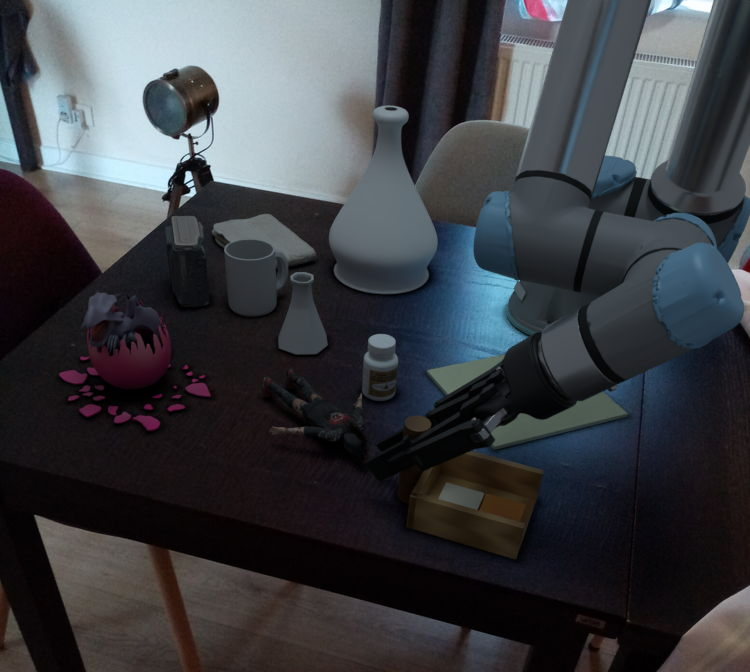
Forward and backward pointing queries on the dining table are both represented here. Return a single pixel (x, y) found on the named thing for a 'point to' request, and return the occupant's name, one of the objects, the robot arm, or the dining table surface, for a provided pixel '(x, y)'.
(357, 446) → the figurine
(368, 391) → the pill bottle
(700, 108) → the robot arm
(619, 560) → the dining table surface
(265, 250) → the cup
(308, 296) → the flask
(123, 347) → the hatching egg
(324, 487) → the dining table surface
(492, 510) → the block
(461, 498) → the block
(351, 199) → the vase
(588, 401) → the placemat
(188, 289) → the camera
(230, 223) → the washcloth
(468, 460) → the open wooden box
